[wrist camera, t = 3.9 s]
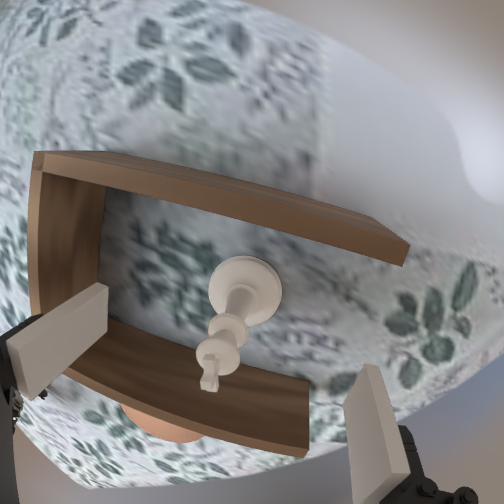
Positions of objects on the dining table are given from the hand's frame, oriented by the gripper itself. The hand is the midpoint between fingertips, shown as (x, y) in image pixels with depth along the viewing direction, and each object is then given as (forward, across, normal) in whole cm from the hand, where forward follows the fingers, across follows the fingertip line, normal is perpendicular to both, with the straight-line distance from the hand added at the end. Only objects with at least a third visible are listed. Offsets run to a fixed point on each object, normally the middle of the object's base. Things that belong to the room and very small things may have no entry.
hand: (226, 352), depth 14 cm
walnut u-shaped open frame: (+7, -3, 0) cm, 8 cm away
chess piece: (+7, 0, 0) cm, 7 cm away
